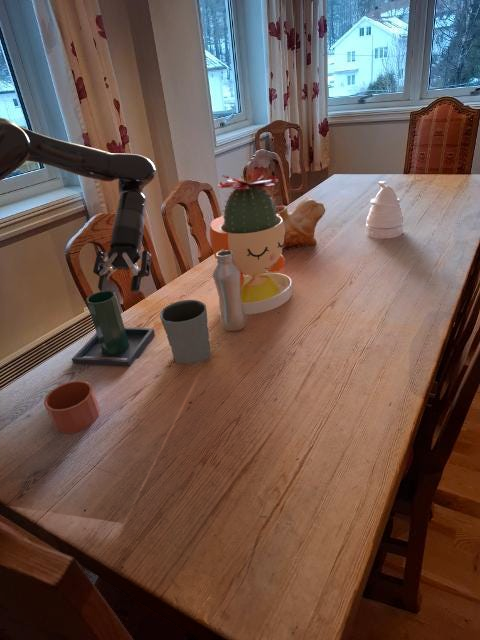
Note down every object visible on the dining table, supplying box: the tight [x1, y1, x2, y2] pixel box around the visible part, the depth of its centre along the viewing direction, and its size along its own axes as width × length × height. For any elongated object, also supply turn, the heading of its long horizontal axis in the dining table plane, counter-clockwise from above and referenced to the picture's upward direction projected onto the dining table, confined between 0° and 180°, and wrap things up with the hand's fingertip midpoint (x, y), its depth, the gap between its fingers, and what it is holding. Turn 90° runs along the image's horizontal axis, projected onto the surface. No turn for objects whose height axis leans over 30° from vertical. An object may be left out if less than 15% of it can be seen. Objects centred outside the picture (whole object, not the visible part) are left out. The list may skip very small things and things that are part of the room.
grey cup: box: [159, 299, 212, 365], centre depth 96 cm, size 10×10×12 cm
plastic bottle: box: [212, 251, 247, 332], centre depth 104 cm, size 6×7×20 cm
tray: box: [71, 327, 156, 368], centre depth 105 cm, size 15×15×2 cm
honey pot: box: [365, 180, 405, 239], centre depth 153 cm, size 13×13×18 cm
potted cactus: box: [209, 165, 293, 315], centre depth 115 cm, size 22×22×35 cm
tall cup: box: [85, 290, 129, 356], centre depth 101 cm, size 6×7×14 cm
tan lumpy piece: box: [275, 197, 326, 251], centre depth 154 cm, size 14×26×15 cm, turn 103°
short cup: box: [43, 380, 101, 434], centre depth 82 cm, size 9×9×6 cm
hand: (118, 291), depth 105 cm, fingers open, 8 cm apart
